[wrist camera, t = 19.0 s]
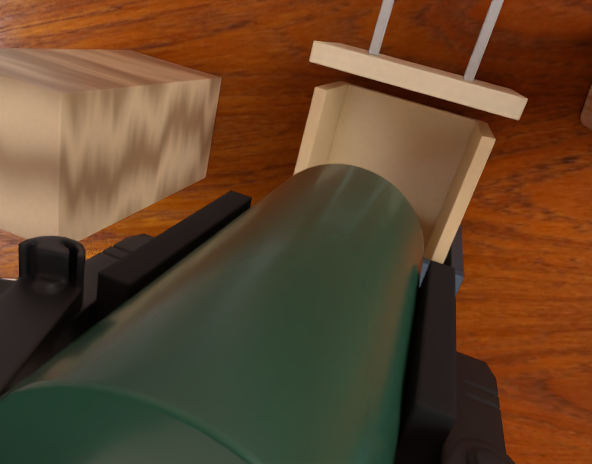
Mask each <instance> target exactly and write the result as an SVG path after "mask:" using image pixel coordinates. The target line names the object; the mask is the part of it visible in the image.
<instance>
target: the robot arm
mask: <svg viewBox="0 0 592 464" xmlns="http://www.w3.org/2000/svg"><path fill="white" fill-rule="evenodd" d="M251 200H252V198H251V197H249V196H246V195H243V194H240V193H237V192H234V191H230V192H228V193H226V194H225V195H223V196H222V197H220V198H218V199H217V200H215V201H213V202H212V203H210V204H209V205H207V206H205V207H204V208H202V209H200V210H199V211H197V212H196V213H194V214H192V215H191V216H189V217H187V218H186V219H184V220H183V221H181V222H179V223H178V224H176V225H174V226H173V227H171V228H170V229H168V230H166V231H165V232H163V233H161V234H160V235H158V236H157V237H155V238H154V237H151V236H149V235H146V234H141V235H136V236H132V237H127V238H125V239H123V240H122V241H120V242H118V243H116V244H115V245H114V246H113V247H109V248H107V249H106V250H104V251H103V253H101V252H100V253H98V254H97V255H95V256H93V257H91V258H90V259H88V260H86V261H85V254H86V251H85V249H84V246H83V245H82V244H80V243H79V242H78V241H76V240H73V239H70V238H67V237H61V236H39V237H35V238H31V239H27V240H25V241H23V242H21V243H20V244H19V278H18V279H17V280H16V281H14V280H8V279H2V278H0V396H2V395H3V394H4V393H6V392H7V391H8V390H10V389H11V388H12V387H14V386H15V385H16V384H18V383H19V382H20V381H22V380H23V379H24V378H26V377H27V376H28V375H30V374H31V373H32V372H33V371H35V370H36V369H37V368H39V367H40V366H41V365H43V364H44V363H45V362H47V361H48V360H49V359H51V358H52V357H53V356H55V355H56V354H57V353H59V352H60V351H61V350H63V349H64V348H65V347H67V346H68V345H69V344H70V343H72V342H73V341H74V340H76V339H77V338H78V337H80V336H81V335H82V334H84V333H85V332H86V331H88V330H89V329H90V328H92V327H93V326H94V325H96V324H97V323H98V322H100V321H101V320H102V319H104V318H105V317H106V316H107V315H109V314H110V313H111V312H113V311H114V310H115V309H117V308H118V307H119V306H121V305H122V304H123V303H125V302H126V301H127V300H129V299H130V298H131V297H133V296H134V295H135V294H137V293H138V292H139V291H141V290H142V289H143V288H144V287H146V286H147V285H148V284H150V283H151V282H152V281H154V280H155V279H156V278H158V277H159V276H160V275H162V274H163V273H164V272H166V271H167V270H168V269H170V268H171V267H172V266H174V265H175V264H176V263H178V262H179V261H180V260H181V259H183V258H184V257H185V256H187V255H188V254H189V253H191V252H192V251H193V250H195V249H196V248H197V247H199V246H200V245H201V244H203V243H204V242H205V241H207V240H208V239H209V238H211V237H212V236H213V235H215V234H216V233H217V232H218V231H220V230H221V229H222V228H224V227H225V226H226V225H228V224H229V223H230V222H232V221H233V220H234V219H236V218H237V217H238V216H240V215H241V214H242V213H244V212H245V211H246V210H248V209H249V208H250V205H251ZM497 396H498V390H497V383H496V378H495V376H494V375H493V373H492V372H491V370H490V369H489V367H488V365H487V364H486V363H485V362H483V361H480V360H478V359H475V358H472V357H470V356H467V355H464V354H462V353H459V352H457V351H456V294H455V268H453V267H450V266H447V265H444V264H441V263H438V262H435V261H432V260H431V261H430V263H429V265H428V268H427V270H426V273H425V275H424V278H423V280H422V283H421V285H420V287H419V292H418V299H417V306H416V314H415V321H414V328H413V335H412V342H411V349H410V356H409V363H408V370H407V377H406V384H405V391H404V398H403V405H402V413H401V420H400V427H399V434H398V441H397V448H396V455H395V462H394V464H515V463H514V462H513V461H512V460H511V458H510V457H509V456H508V455H507V454H506V449H505V442H504V435H503V427H502V420H501V412H500V410H499V407H500V405H499V397H497Z"/></svg>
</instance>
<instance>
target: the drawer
mask: <svg viewBox="0 0 592 464" xmlns="http://www.w3.org/2000/svg"><path fill="white" fill-rule="evenodd" d="M503 1H504V0H492V1H491V4H490V7H489V9H488V12H487V15H486V18H485V20H484V23H483V26H482V28H481V31H480V34H479V36H478V39H477V42H476V44H475V47H474V50H473V52H472V55H471V58H470V60H469V63H468V66H467V68H466V71H465V74H464V76H461V75H457V74H454V73H450V72H446V71H442V70H439V69H435V68H431V67H428V66H424V65H420V64H417V63H413V62H409V61H405V60H402V59H398V58H394V57H391V56H387V55H383V54H379V51H380V48H381V44H382V41H383V38H384V34H385V31H386V27H387V24H388V21H389V17H390V14H391V10H392V7H393V3H394V0H383V2H382V6H381V9H380V13H379V16H378V20H377V23H376V27H375V30H374V34H373V37H372V41H371V44H370V48H369V51H368V50H365V49H361V48H357V47H354V46H350V45H346V44H342V43H333V42H322V41H314V42H313V46H312V50H311V54H310V58H309V62H312V63H316V64H319V65H323V66H326V67H330V68H334V69H337V70H341V71H344V72H348V73H351V74H355V75H358V76H362V77H366V78H369V79H373V80H376V81H380V82H383V83H387V84H390V85H394V86H397V87H401V88H405V89H408V90H412V91H415V92H419V93H422V94H426V95H429V96H433V97H437V98H440V99H444V100H447V101H451V102H454V103H458V104H461V105H465V106H469V107H472V108H476V109H479V110H483V111H486V112H490V113H493V114H497V115H500V116H504V117H508V118H511V119H515V120H519V119H520V117H521V114H522V112H523V110H524V107H525V105H526V103H527V101H528V99H527V98H525V97H524V96H522V95H520V94H519V93H517V92H515V91H513V90H512V89H509V88H505V87H502V86H498V85H494V84H491V83H487V82H483V81H479V80H476V79H474V77H475V75H476V72H477V69H478V67H479V64H480V62H481V59H482V56H483V54H484V51H485V48H486V46H487V43H488V41H489V38H490V35H491V33H492V30H493V28H494V25H495V22H496V20H497V17H498V14H499V12H500V9H501V7H502V4H503ZM495 140H496V139H495V137H494V135H493V133H492V131H491V129H490V128H489V126H488V124H487V122H484V121H480V120H477V119H473V118H470V117H466V116H463V115H459V114H456V113H452V112H449V111H445V110H442V109H438V108H435V107H431V106H428V105H424V104H421V103H417V102H414V101H410V100H407V99H403V98H400V97H396V96H393V95H389V94H386V93H382V92H379V91H375V90H372V89H368V88H365V87H361V86H358V85H354V84H351V83H347V82H344V81H338V82H333V83H329V84H325V85H321V86H317V87H315V89H314V93H313V97H312V101H311V105H310V109H309V114H308V118H307V122H306V126H305V130H304V134H303V138H302V142H301V146H300V150H299V154H298V158H297V162H296V166H295V170H294V175H295V174H296V173H298V172H300V171H303V170H305V169H307V168H310V167H314V166H317V165H324V164H347V165H353V166H357V167H361V168H364V169H367V170H369V171H372V172H374V173H376V174H378V175H379V176H381V177H383V178H384V179H386V180H387V181H389V182H390V183H391V184H393V185H394V186H395V187H396V188H397V189H398V190H399V191H400V192H401V193H402V194H403V195H404V196H405V198H406V199H407V200H408V201H409V203H410V204H411V206H412V208H413V209H414V211H415V213H416V215H417V217H418V220H419V222H420V225H421V229H422V233H423V240H424V257H423V258H426V259H429V260H432V261H435V262H438V263H441V264H443V263H444V261H445V258H446V256H447V253H448V251H449V249H450V246H451V244H452V242H453V239H454V237H455V235H456V232H457V230H458V228H459V225H460V223H461V220H462V218H463V216H464V213H465V211H466V209H467V206H468V204H469V202H470V199H471V197H472V195H473V192H474V190H475V187H476V185H477V183H478V180H479V178H480V176H481V173H482V171H483V169H484V166H485V164H486V161H487V159H488V157H489V154H490V152H491V150H492V147H493V145H494V143H495Z"/></svg>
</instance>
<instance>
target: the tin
mask: <svg viewBox="0 0 592 464" xmlns="http://www.w3.org/2000/svg"><path fill="white" fill-rule="evenodd" d="M423 257H424V240H423V233H422V229H421V225H420V222H419V220H418V217H417V215H416V213H415V211H414V209H413V208H412V206H411V204H410V203H409V201H408V200H407V199H406V198H405V196H404V195H403V194H402V193H401V192H400V191H399V190H398V189H397V188H396V187H395V186H394V185H393V184H391V183H390V182H389V181H387V180H386V179H384V178H383V177H381V176H379V175H378V174H376V173H374V172H372V171H369V170H367V169H364V168H361V167H357V166H353V165H347V164H324V165H317V166H314V167H310V168H307V169H305V170H303V171H300V172H298V173H296V174H295V175H293V176H292V177H290V178H288V179H287V180H286V181H285V182H283V183H282V184H281V185H279V186H278V187H277V188H275V189H274V190H273V191H271V192H270V193H269V194H267V195H266V196H265V197H263V198H262V199H261V200H259V201H258V202H257V203H255V204H254V205H253V206H251V207H250V208H249V209H248V210H246V211H245V212H244V213H242V214H241V215H240V216H238V217H237V218H236V219H234V220H233V221H232V222H230V223H229V224H228V225H226V226H225V227H224V228H222V229H221V230H220V231H218V232H217V233H216V234H215V235H213V236H212V237H211V238H209V239H208V240H207V241H205V242H204V243H203V244H201V245H200V246H199V247H197V248H196V249H195V250H193V251H192V252H191V253H189V254H188V255H187V256H185V257H184V258H183V259H181V260H180V261H179V262H178V263H176V264H175V265H174V266H172V267H171V268H170V269H168V270H167V271H166V272H164V273H163V274H162V275H160V276H159V277H158V278H156V279H155V280H154V281H152V282H151V283H150V284H148V285H147V286H146V287H144V288H143V289H142V290H141V291H139V292H138V293H137V294H135V295H134V296H133V297H131V298H130V299H129V300H127V301H126V302H125V303H123V304H122V305H121V306H119V307H118V308H117V309H115V310H114V311H113V312H111V313H110V314H109V315H107V316H106V317H105V318H104V319H102V320H101V321H100V322H98V323H97V324H96V325H94V326H93V327H92V328H90V329H89V330H88V331H86V332H85V333H84V334H82V335H81V336H80V337H78V338H77V339H76V340H74V341H73V342H72V343H70V344H69V345H68V346H67V347H65V348H64V349H63V350H61V351H60V352H59V353H57V354H56V355H55V356H53V357H52V358H51V359H49V360H48V361H47V362H45V363H44V364H43V365H41V366H40V367H39V368H37V369H36V370H35V371H33V372H32V373H31V374H30V375H28V376H27V377H26V378H24V379H23V380H22V381H20V382H19V383H18V384H16V385H15V386H14V387H12V388H11V389H10V390H8V391H7V392H6V393H4V394H3V395H2V396H0V464H394V462H395V455H396V448H397V441H398V434H399V427H400V420H401V413H402V405H403V398H404V391H405V384H406V377H407V370H408V363H409V356H410V349H411V342H412V335H413V328H414V321H415V314H416V306H417V299H418V292H419V285H420V278H421V271H422V264H423Z"/></svg>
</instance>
